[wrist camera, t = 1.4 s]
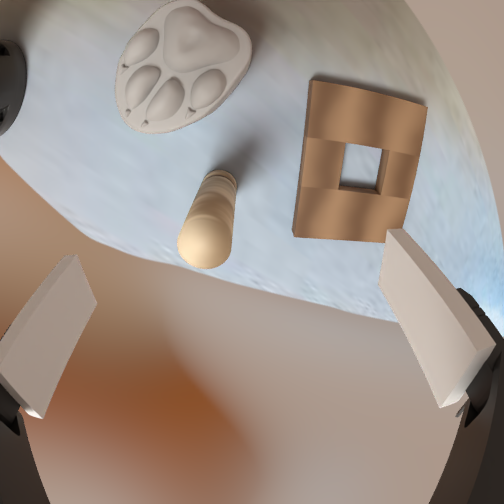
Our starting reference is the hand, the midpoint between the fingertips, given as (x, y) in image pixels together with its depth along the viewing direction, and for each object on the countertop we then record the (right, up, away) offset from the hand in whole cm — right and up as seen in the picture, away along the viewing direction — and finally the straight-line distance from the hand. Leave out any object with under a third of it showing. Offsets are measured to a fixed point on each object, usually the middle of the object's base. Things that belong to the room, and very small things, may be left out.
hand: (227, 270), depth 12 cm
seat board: (+13, +11, +21) cm, 27 cm away
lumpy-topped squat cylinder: (-6, +20, +15) cm, 26 cm away
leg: (-3, +8, +22) cm, 24 cm away
